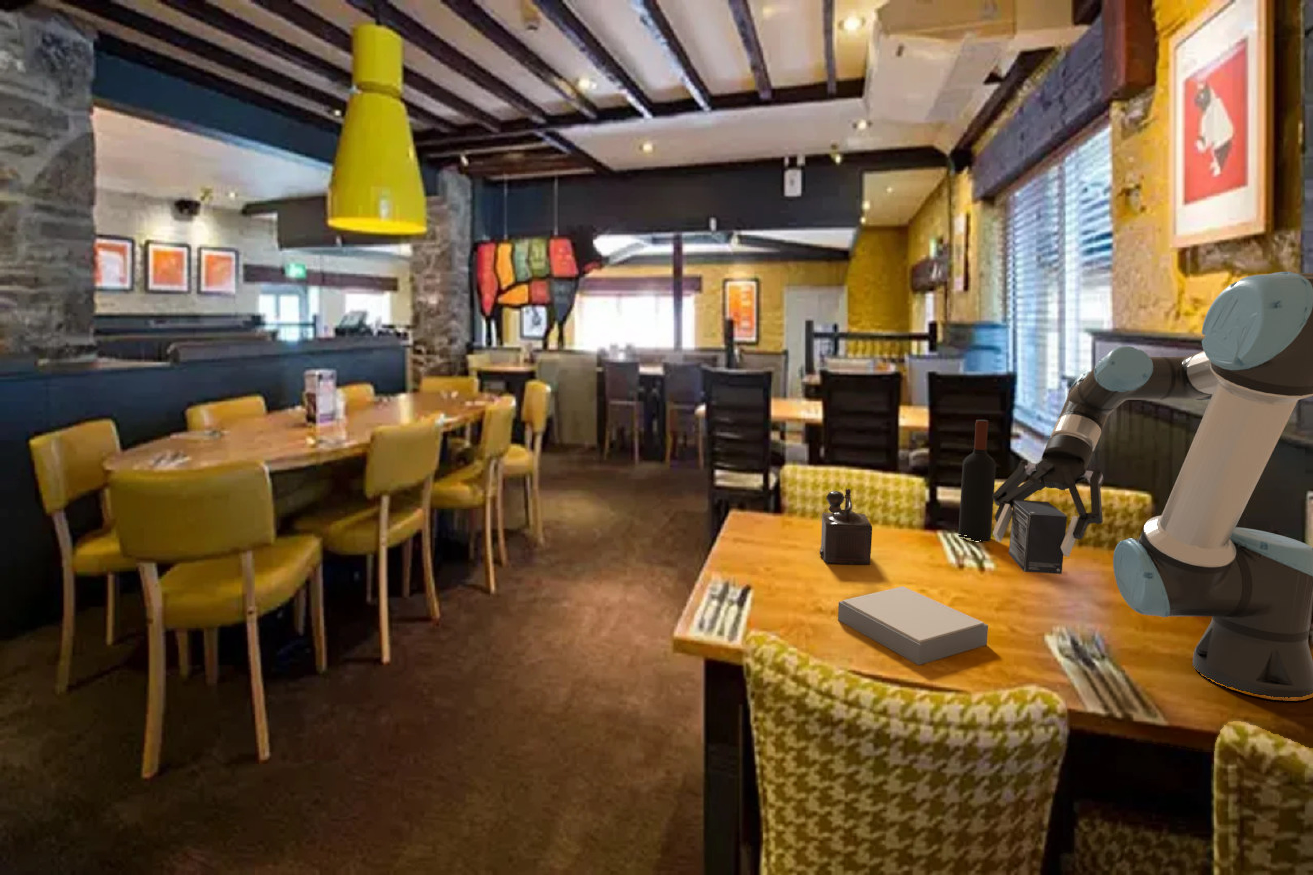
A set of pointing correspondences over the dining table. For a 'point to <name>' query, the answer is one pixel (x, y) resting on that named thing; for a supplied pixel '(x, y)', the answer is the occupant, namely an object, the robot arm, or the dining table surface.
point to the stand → (912, 624)
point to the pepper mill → (845, 533)
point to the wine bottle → (977, 489)
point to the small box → (1037, 536)
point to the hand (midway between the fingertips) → (1029, 544)
